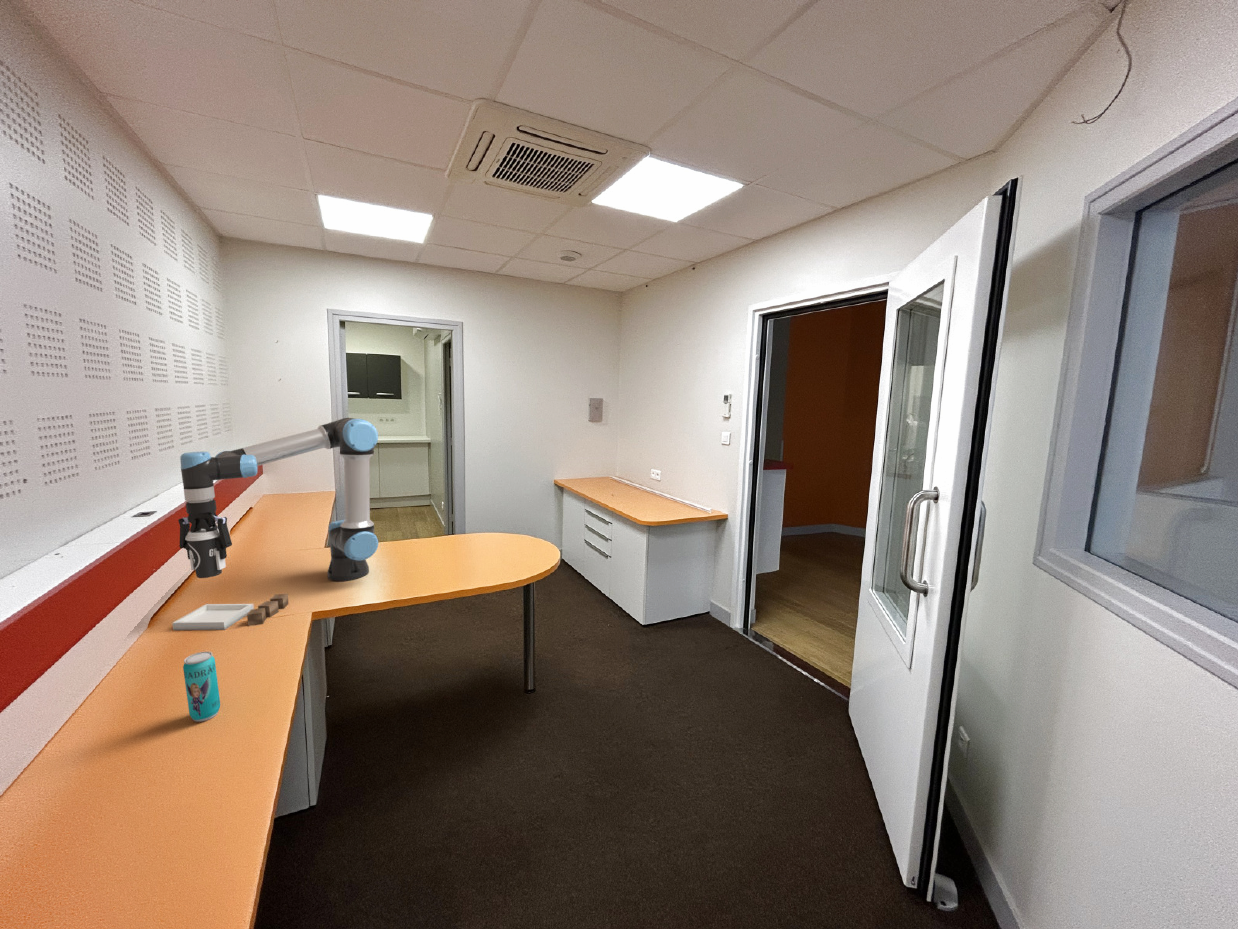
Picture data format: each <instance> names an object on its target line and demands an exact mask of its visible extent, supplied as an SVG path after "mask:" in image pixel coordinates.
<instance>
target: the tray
mask: <svg viewBox="0 0 1238 929" xmlns="http://www.w3.org/2000/svg"><path fill="white" fill-rule="evenodd" d="M252 609H255V607H254V603H206V604H203V605H202V606H200V607H198V608H196V609H194V610H192V611H191V612H189V613H187V614H185V615H183V616H182V617H180V618H178V619H177V620H175V621H173V622H172V624H171V625H172V631H210V630H212V631H215V630H216V631H219V630H220V631H223V630H224V631H225V630H226V629H228V628H229V627H230V626H231V627H232V625H234V624H236V623H237V622H238V621H240V620H242V619H243V618H244V617H247V614H248V613H249V611H250V610H252Z"/></svg>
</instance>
